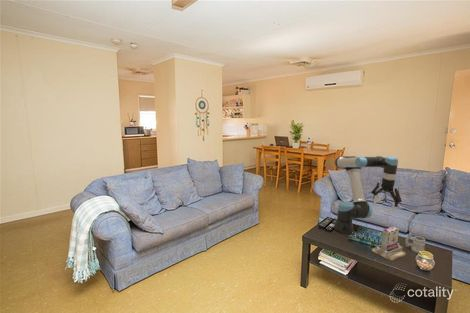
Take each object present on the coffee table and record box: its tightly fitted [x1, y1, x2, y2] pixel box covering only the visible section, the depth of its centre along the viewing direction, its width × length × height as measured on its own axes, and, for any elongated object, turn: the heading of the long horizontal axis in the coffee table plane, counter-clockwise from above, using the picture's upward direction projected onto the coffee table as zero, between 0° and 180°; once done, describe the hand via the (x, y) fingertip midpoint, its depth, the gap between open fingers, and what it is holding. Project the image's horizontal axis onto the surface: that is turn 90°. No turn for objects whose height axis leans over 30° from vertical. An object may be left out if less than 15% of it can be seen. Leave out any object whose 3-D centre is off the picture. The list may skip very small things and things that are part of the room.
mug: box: [404, 232, 426, 254], centre depth 176 cm, size 8×12×12 cm, turn 46°
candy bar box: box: [380, 225, 400, 252], centre depth 171 cm, size 11×5×16 cm, turn 116°
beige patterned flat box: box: [371, 244, 407, 262], centre depth 172 cm, size 14×17×4 cm
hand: (384, 207), depth 176 cm, fingers open, 13 cm apart
